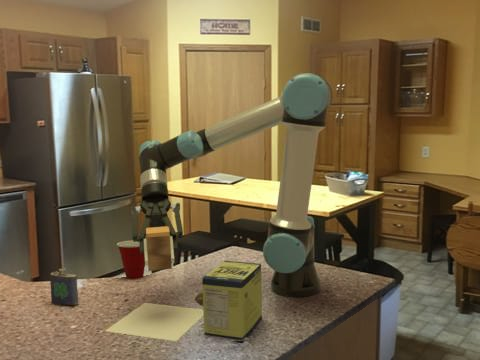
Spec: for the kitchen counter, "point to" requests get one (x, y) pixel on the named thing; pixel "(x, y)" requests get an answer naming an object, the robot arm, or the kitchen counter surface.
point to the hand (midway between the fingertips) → (159, 261)
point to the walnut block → (158, 248)
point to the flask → (64, 288)
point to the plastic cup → (132, 259)
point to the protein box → (232, 300)
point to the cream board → (158, 321)
